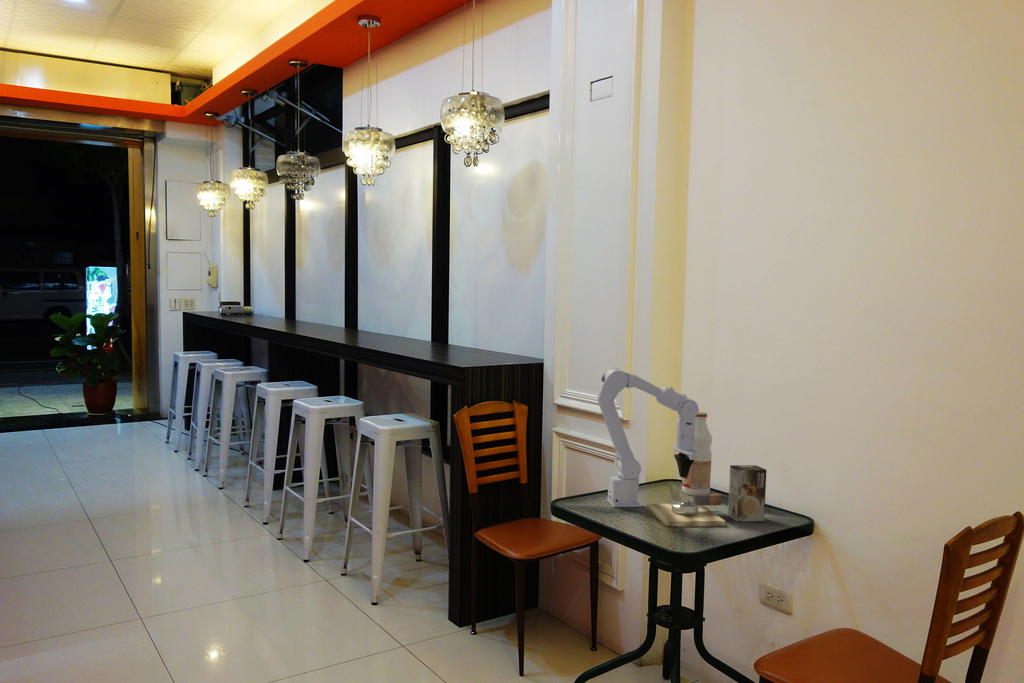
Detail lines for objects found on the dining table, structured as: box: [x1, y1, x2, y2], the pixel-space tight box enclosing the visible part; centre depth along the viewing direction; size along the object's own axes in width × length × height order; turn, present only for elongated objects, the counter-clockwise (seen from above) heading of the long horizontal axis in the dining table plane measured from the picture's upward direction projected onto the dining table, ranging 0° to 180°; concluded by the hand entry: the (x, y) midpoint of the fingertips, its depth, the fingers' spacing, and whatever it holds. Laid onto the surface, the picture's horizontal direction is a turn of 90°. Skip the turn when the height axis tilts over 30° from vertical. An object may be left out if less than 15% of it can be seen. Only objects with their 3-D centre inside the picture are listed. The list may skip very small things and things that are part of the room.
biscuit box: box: [727, 464, 767, 522], centre depth 222 cm, size 9×6×16 cm
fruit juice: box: [681, 411, 713, 496], centre depth 250 cm, size 9×9×28 cm
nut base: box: [646, 503, 726, 527], centre depth 222 cm, size 20×18×2 cm
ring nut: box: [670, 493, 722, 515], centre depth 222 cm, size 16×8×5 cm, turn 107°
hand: (683, 476), depth 233 cm, fingers closed
